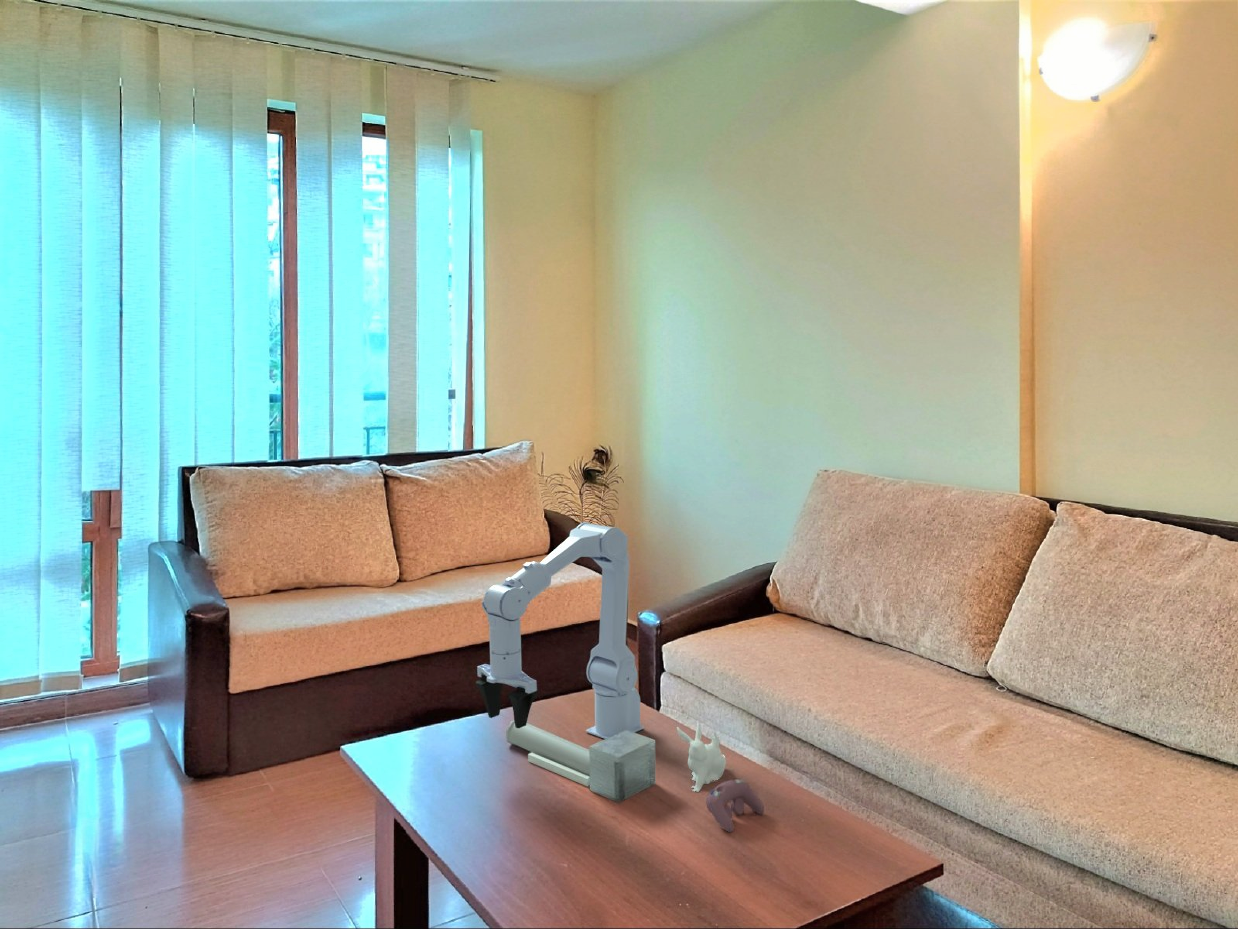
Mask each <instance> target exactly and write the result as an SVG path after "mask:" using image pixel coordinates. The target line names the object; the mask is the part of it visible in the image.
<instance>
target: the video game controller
mask: <svg viewBox="0 0 1238 929" xmlns="http://www.w3.org/2000/svg"><path fill="white" fill-rule="evenodd" d="M705 800H706V801H705V804H706V809H707V810H708V812H709V813H710V814H711V815H712V817H713V819H715V821H716V823H718V825H719V826H720V827H721V828H722V829H723V830H724V831H725V830H726V832H727V831H728V832H727V833H732V832H733V831H734V830H735V829H734V828H735V826H734V823H733V820H732V819H733V816H734V815H741V814H743V813H744V812H745V804H746V805H747V806H748V808H750V809H751V810H752V811H753V812H755V813H756V812H757V813H756V814H758V813H760V814H759V815H763V814H764V813H765V806H764V803H763V802H762V800H761V799H760V797H759V796H758V795H757V794H756V793H755V791H754V790H753V788H752V787H751V785H749V784H748V783H747V782H745V780H744V779H731V780H726V781H723V782H720V784H717V786H715V787H714V788H713V790H712V791H711V792H709V793H708V794H707V796H706V799H705ZM728 803H730V805H728Z"/></svg>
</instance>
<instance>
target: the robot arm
mask: <svg viewBox="0 0 1238 929" xmlns="http://www.w3.org/2000/svg"><path fill="white" fill-rule="evenodd" d="M628 543H629V537H628V535H627V534H626V533H625V532H624V531H623V530H621V528H620V527H617V526H612V527H611V526H606V525H600V524H593V523H592V522H591V523H590V522H585V521H584V522H581V523H579V525H578V526H576V527H575V528H573V529H571V530H570V532H569V536H568V537H567V538H566V539H565V540H564V541H563V542H561V543H560V544H559V545H558V546H557V547H556V548H555V549H553V551H551V552H550V553H549V554H548V555H546V557H545V558H543V559H542V560H541V561H540V562H538V561H530V562H528V561H526V562H525V563H524V564H522V568H521V569H520V570H519V571H517V572H516V573H514V574H513V575H512V576H511V577H507V578H506V579H505V580H504V582H503V583H502V584H499V583H498V584H494V585H492V586H491V587H489V589H487V591H486V592H485V594H484V596H483V600H482V601H481V607H482V609H483V611H484V612H485V613H486V617H487V622H488V625H489V626H488V627H489V628H488V629H489V631H488V632H489V633H488V634H489V660H490V661H489V664H487V663H484V664H481V665H478V666H476V667H477V669H476V670H477V677H479V678H480V679H479V680H476V681H475V687H476V688H477V689H478V692H480V694H481V697H482V699H483V702H484V705H485V709H486V711H487V715H488V718H490V719H492V718H495V717H498V716H500V714H501V698H502V691H503V685H504V684H505V685H508V686H511V687H513V688H516V690H515V689H514V690H512V691H510V692H508V693H507V696H508V697H509V700H510V702H511V707H512V712H513V721H514V723H515V727H516V728H521V727H524V726H526V724H527V723H528V720H529V719H528V718H529V714H530V711H531V707H532V705H533V702H534V701H535V698H536V697H537V695H538V692H539V689H538V687H537V686H538V684H537V680H536V679H534V678H531V677H530V676H528V674H526V673H525V672H524V671H523V670H522V637H521V636H522V635H521V630H522V629H521V628H522V626H521V618H522V617H523V616H524V614H525V613H526V610H527V607H528V605H529V604H530V603H531V601H532V600H533V599H535V598H537V596H538V595H540V594H541V593H542V592H543V591H545V590H546V589H548V588H549V587H550V585H551V582H552V577H553V576H555V575H556V574H558V573H559V572H560V571H561V570H563V569H565V568H566V567H568V566H569V565H571V564H572V563H573V562H575V561H577V560H578V559H579V558H581V557H582V558H583V557H585V558H587V557H588V558H591V559H592V560H593V561H594V562H595V563H596V564H597V566H599V567H600V568H601V570H602V572H601V588H600V590H601V591H600V592H601V593H600V594H601V595H600V611H599V612H600V615H599V633H598V634H599V636H598V637H599V638H598V644H597V645H595V646H594V647H593V648H592V649H591V650H590V657H589V661H588V663H587V665H586V673H585V674H586V678H587V680H588V681H589V682H590V684H592V687H591V688H592V689H593V690H594V726H592V727H589V728H587V729H586V730H585V731H586V733H588V734H591V735H594V736H595V737H598V738H602V739H603V740H605V739H607V738H609V737H612V736H614V735H616V734H618V733H621V732H623V731H625V730H628V731H631V732H634V733H637V732H639V731H641V730H643V729H644V725H641V696H640V694H639V691H638V690H637V688H636V687H635V686H636V684H637V681H638V670H637V667H636V657H635V654H634V653H633V652H632V651H631V650H630V648H629V647H628V645H627V643H626V641H627V622H628V621H627V619H628V618H627V616H628V602H629V601H628V600H629V595H628V594H629V577H630V575H629V574H630V557H629V556H630V555H629V553H628Z"/></svg>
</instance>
